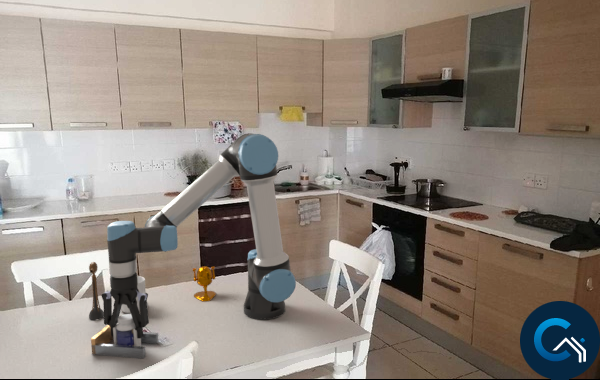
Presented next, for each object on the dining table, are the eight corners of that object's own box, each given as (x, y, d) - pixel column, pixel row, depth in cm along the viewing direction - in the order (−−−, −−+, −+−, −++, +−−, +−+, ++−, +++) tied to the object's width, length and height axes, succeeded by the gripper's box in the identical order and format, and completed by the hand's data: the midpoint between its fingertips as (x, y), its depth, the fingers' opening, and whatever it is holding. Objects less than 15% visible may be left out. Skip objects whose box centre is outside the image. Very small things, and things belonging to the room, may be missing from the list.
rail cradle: (158, 341, 137) (157, 326, 136) (143, 358, 127) (142, 342, 127) (110, 338, 139) (109, 323, 138) (92, 354, 129) (90, 338, 129)
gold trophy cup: (214, 290, 179) (213, 261, 178) (217, 300, 169) (216, 270, 167) (193, 292, 177) (192, 263, 175) (194, 302, 167) (193, 272, 165)
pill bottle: (137, 351, 131) (135, 319, 130) (116, 354, 130) (114, 322, 128) (138, 342, 137) (136, 311, 135) (118, 344, 135) (116, 314, 133)
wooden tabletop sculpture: (101, 320, 151) (98, 264, 148) (87, 322, 150) (83, 265, 147) (105, 313, 157) (101, 259, 154) (90, 314, 156) (87, 260, 153)
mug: (142, 314, 156) (141, 284, 155) (116, 314, 156) (115, 284, 154) (151, 300, 168) (150, 272, 167) (127, 301, 168) (126, 273, 166)
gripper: (159, 270, 132) (162, 342, 135) (101, 267, 134) (105, 338, 138) (147, 279, 125) (151, 355, 128) (86, 276, 127) (91, 350, 130)
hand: (127, 346), depth 133 cm, fingers closed on pill bottle, 6 cm apart
